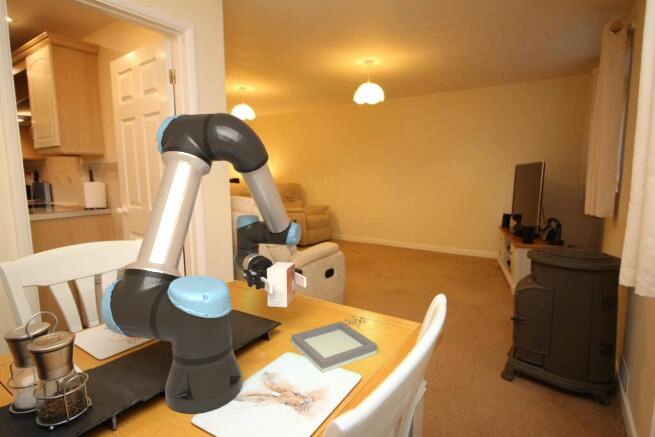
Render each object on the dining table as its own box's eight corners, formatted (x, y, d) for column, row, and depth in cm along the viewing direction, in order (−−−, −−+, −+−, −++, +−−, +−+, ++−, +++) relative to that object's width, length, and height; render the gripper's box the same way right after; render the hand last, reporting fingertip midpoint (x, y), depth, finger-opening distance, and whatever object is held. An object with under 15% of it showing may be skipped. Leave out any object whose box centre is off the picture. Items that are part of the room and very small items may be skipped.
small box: (286, 308, 91) (286, 269, 90) (266, 306, 92) (266, 268, 91) (295, 298, 99) (295, 262, 97) (277, 296, 100) (276, 261, 98)
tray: (322, 373, 78) (322, 362, 78) (291, 343, 91) (291, 334, 91) (376, 353, 86) (377, 344, 86) (341, 329, 100) (341, 321, 99)
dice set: (343, 327, 103) (343, 320, 102) (350, 320, 107) (350, 314, 107) (358, 330, 100) (358, 324, 100) (365, 324, 105) (365, 318, 104)
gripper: (289, 273, 116) (323, 292, 97) (224, 283, 104) (248, 306, 85) (289, 251, 115) (323, 266, 96) (223, 259, 103) (248, 277, 85)
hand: (288, 285), depth 91 cm, fingers closed on small box, 9 cm apart
